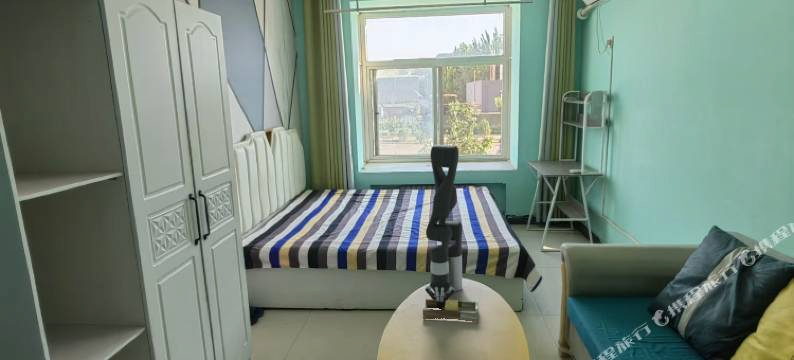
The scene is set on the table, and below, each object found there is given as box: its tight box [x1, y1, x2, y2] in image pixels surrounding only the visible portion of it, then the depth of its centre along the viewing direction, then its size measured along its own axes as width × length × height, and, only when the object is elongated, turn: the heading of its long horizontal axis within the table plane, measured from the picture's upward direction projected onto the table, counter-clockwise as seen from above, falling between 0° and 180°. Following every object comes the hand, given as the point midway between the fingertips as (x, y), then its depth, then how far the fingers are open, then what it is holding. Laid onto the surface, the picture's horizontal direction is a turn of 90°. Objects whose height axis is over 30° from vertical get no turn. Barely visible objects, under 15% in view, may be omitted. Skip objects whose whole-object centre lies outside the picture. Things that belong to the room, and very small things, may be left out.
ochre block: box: [445, 299, 458, 311], centre depth 192 cm, size 5×5×4 cm
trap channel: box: [422, 298, 479, 324], centre depth 193 cm, size 10×23×6 cm, turn 79°
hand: (440, 308), depth 193 cm, fingers closed
